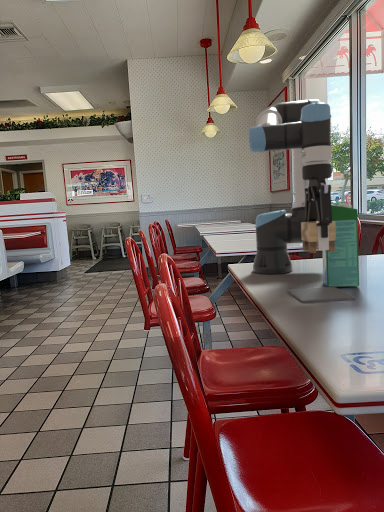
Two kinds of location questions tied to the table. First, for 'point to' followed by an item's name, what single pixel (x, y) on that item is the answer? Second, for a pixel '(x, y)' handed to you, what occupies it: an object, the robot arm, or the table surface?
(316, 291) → the mat
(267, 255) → the robot arm
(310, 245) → the footstool
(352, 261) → the milk carton
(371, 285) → the table surface
